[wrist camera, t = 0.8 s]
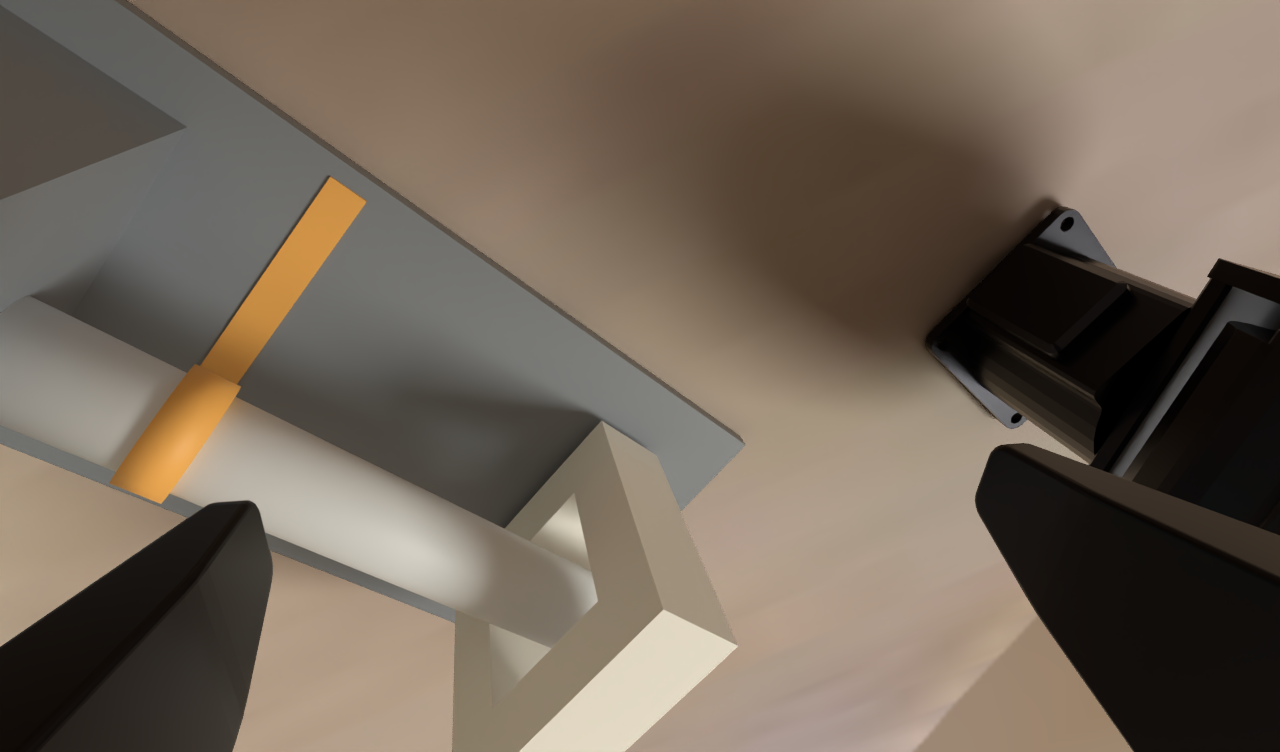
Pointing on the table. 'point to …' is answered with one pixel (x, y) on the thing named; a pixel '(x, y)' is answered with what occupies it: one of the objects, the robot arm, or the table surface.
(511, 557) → the pipe mount
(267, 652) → the table surface
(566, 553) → the collar ring
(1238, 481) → the robot arm
